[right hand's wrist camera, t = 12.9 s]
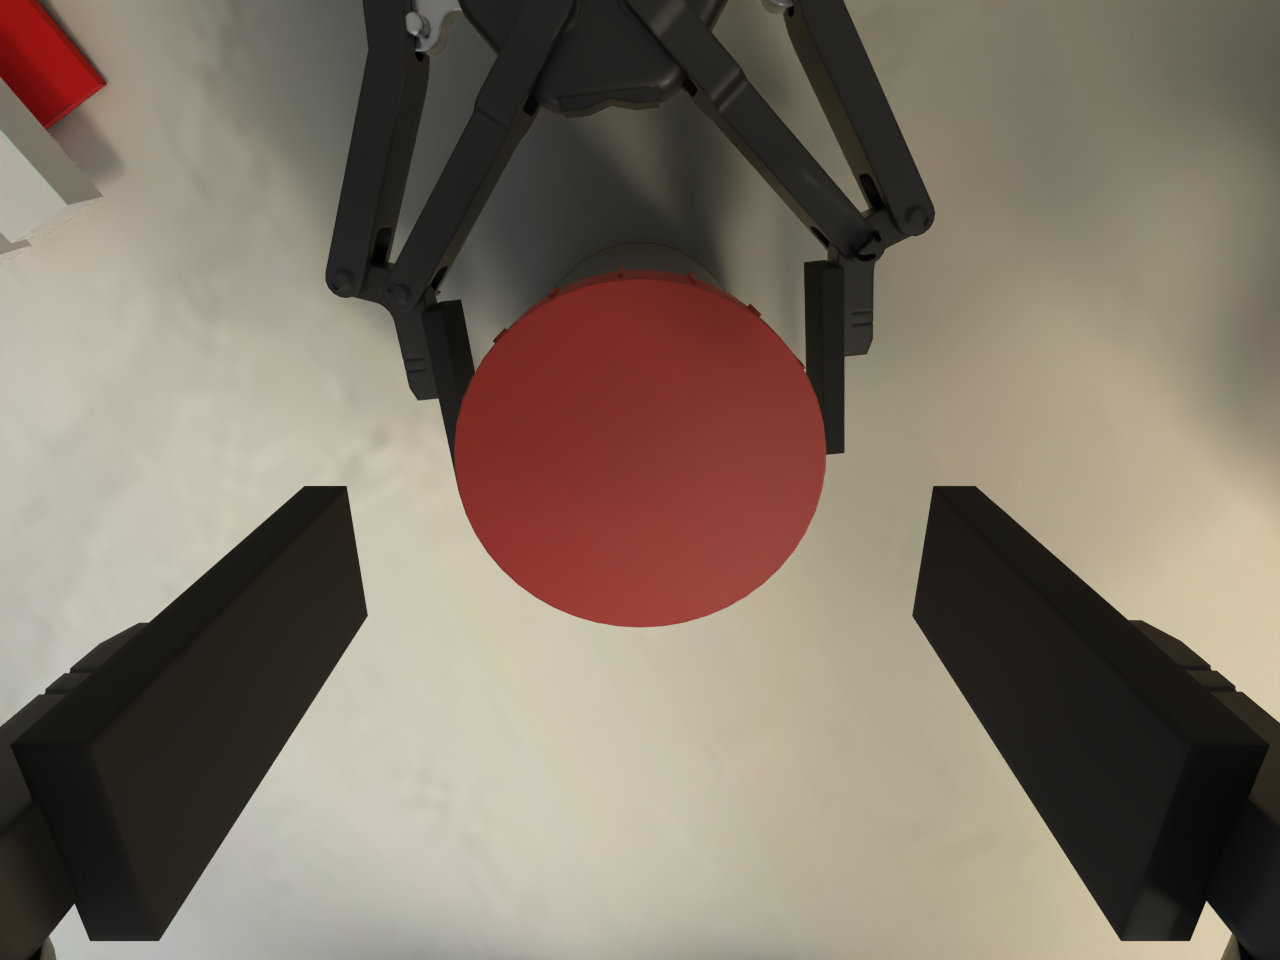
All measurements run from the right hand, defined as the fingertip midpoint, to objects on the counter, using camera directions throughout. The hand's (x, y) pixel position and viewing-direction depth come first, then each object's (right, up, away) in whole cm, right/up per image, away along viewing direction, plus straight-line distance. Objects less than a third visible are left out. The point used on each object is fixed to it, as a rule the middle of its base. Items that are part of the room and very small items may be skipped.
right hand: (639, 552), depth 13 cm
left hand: (0, +2, +14) cm, 14 cm away
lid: (0, +2, +4) cm, 5 cm away
